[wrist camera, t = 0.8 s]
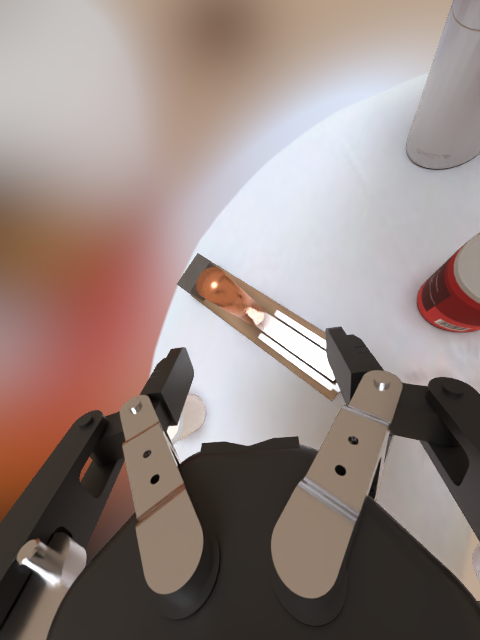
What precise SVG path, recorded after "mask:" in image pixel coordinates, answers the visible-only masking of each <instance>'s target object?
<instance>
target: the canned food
mask: <svg viewBox="0 0 480 640" xmlns="http://www.w3.org/2000/svg"><path fill="white" fill-rule="evenodd" d="M417 304H418V308H419V311H420V313H421V314H422V316H423V317H424V318H425V319H426V320H427V321H428V322H430V323H431V324H433V325H435V326H436V327H439V328H442V329H444V330H448V331H454V332H471V331H476V330H480V233H479V234H477V235H476V236H474V237H473V238H472V239H470V240H469V241H468V242H466V243H465V244H464V245H463V246H462V247H461V248H460V249H459V250H458V251H457V252H456V253H455V254H454V255H452V256H451V257H450V258H449V259H448V260H447V261H446V262H445V263H444V264H443V265H442V266H441V267H440V268H439V269H438V270H437V271H436V272H435V273H434V274H433V275H432V276H431V277H430V278H429V279H428V280H427V281H426V282H425V283H424V284H423V285H422V287H421V289H420V290H419V293H418V297H417Z"/></svg>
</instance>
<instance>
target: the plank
mask: <svg viewBox="0 0 480 640" xmlns="http://www.w3.org/2000/svg"><path fill="white" fill-rule="evenodd" d="M213 264H214V263H213ZM214 265H215V266H216V267H218V268H219V269H221V270H222V271H223V272H224V273H225V274H226V275H227V276H228V277H229V278H230V279H232V280H233V281H234V282H235V283H236V284H237V285H238V286H239V287H240V288H241V289H242V290H244V291H245V292H246V293H247V294H248V295H249V296H250V297H251V298H252V299H253V300H254V301H256V302H257V303H258V304H259V305H260V306H261V307H262V308H263V310H264V311H265V312H266V313H268V314H269V315H271V316H272V317H274V318H275V319H277V320H278V321H280V320H279V319H278V318H277V317H276V316H275V315H274V314H275V312H276V311H277V310H278V311H280V312H281V313H283V314H284V315H286V316H287V317H289V318H291V319H292V320H294V321H295V322H297V323H298V324H300V325H302V326H303V327H305V328H306V329H308V330H309V331H311V332H313V333H314V334H316V335H317V336H319V337H320V338H322V339H323V340H325V341H326V333H325V332H323V331H322V330H320V329H318V328H317V327H315V326H314V325H312V324H310V323H309V322H307V321H306V320H304V319H302V318H301V317H299V316H298V315H296V314H294V313H293V312H291V311H289V310H288V309H286V308H285V307H283V306H281V305H280V304H278V303H277V302H275V301H273V300H272V299H270V298H269V297H267V296H265V295H264V294H262V293H261V292H259V291H257V290H256V289H254V288H253V287H251V286H249V285H248V284H246V283H245V282H243V281H241V280H240V279H238V278H237V277H235V276H233V275H232V274H230V273H229V272H227V271H225V270H224V269H222V268H221V267H219V266H217V265H216V264H214ZM191 296H193V295H191ZM193 297H194V298H195V299H197V300H198V301H199V302H201V303H202V304H203V305H205V306H206V307H207V308H208V309H210V310H211V311H212V312H214V313H215V314H216V315H218V316H219V317H220V318H222V319H223V320H224V321H226V322H227V323H228V324H230V325H231V326H232V327H234V328H235V329H236V330H238V331H239V332H240V333H242V334H243V335H244V336H246V337H247V338H248V339H250V340H251V341H252V342H254V343H255V344H256V345H258V346H259V347H260V348H262V349H263V350H264V351H266V352H267V353H268V354H270V355H271V356H272V357H274V358H275V359H276V360H278V361H279V362H280V363H282V364H283V365H284V366H286V367H287V368H288V369H290V370H291V371H292V372H294V373H295V374H296V375H298V376H299V377H300V378H302V379H303V380H304V381H306V382H307V383H308V384H310V385H311V386H312V387H314V388H315V389H316V390H318V391H319V392H320V393H322V394H323V395H324V396H326V397H327V398H328V399H330V400H331V401H332V400H333V399H334V397H335V396H336V395H337V393H338V392H337V391H336V390H335V389H332V390H331V391H330V390H329V389H327V388H326V387H325V386H323V385H322V384H321V383H319V382H318V381H317V380H315V379H314V378H312V377H311V376H310V375H308V374H307V373H306V372H304V371H303V370H302V369H300V368H299V367H297V366H296V365H295V364H293V363H292V362H291V361H289V360H288V359H287V358H285V357H284V356H282V355H281V354H280V353H278V352H277V351H276V350H274V349H273V348H272V347H270V346H269V345H267V344H266V343H265V342H263V341H262V340H261V339H259V338H258V337H259V335H260V334H261V333H263V334H264V335H266V336H268V337H269V338H271V339H272V340H273V341H275V342H276V343H278V344H279V345H280V346H282V347H283V348H285V349H286V350H288V351H289V352H290V353H292V354H293V355H295V356H296V357H297V358H299V359H300V360H302V361H303V362H304V363H306V364H307V365H309V366H310V367H311V368H313V369H314V370H316V371H317V372H318V373H320V374H321V375H323V376H324V377H325V378H327V379H328V380H330V381H331V382H332V383H334V384H335V383H336V379H334V381H332V380H331V379H330V378H328V377H327V376H325V375H324V374H323V373H321V372H320V371H318V370H317V369H316V368H314V367H313V366H311V365H310V364H308V363H307V362H306V361H304V360H303V359H301V358H300V357H299V356H297V355H296V354H294V353H293V352H292V351H290V350H289V349H287V348H286V347H285V346H283V345H282V344H280V343H279V342H277V341H276V340H275V339H273V338H272V337H270V336H269V335H268V334H266V333H265V332H263V331H262V330H261V329H259V328H258V327H256V326H255V325H250V324H248V323H247V322H245V321H243V320H241V319H240V318H238V317H236V316H235V315H233V314H231V313H229V312H228V311H226V310H224V309H222V308H221V307H219V306H217V305H216V304H214V303H212V302H210V301H209V300H207V299H205V300H204V301H202V300H200V299H199V298H197V297H195V296H193ZM280 322H281V323H283V322H282V321H280ZM283 324H284V325H286V324H285V323H283ZM286 326H287V327H289V326H288V325H286ZM289 328H290V329H292V328H291V327H289ZM292 330H293V331H295V330H294V329H292ZM295 332H296V333H298V332H297V331H295ZM298 334H299V335H301V334H300V333H298ZM301 336H302V337H304V336H303V335H301ZM304 338H305V339H307V338H306V337H304ZM307 340H308V341H310V340H309V339H307ZM310 342H312V341H310ZM312 343H313V342H312ZM313 344H315V343H313ZM315 345H316V346H318V345H317V344H315ZM318 347H319V348H321V347H320V346H318ZM321 349H322V350H324V349H323V348H321ZM324 351H325V352H326V350H324Z"/></svg>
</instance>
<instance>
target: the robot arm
mask: <svg viewBox="0 0 480 640" xmlns="http://www.w3.org/2000/svg"><path fill="white" fill-rule="evenodd" d="M406 150H407V154H408V156H409V158H410V159H411V160H412V161H413V162H415V163H416V164H418V165H420V166H423V167H425V168H432V169H444V168H450V167H454V166H457V165H460V164H463V163H465V162H467V161H469V160H471V159H472V158H473V157H475V156H476V155H478V154H479V153H480V0H453V2H452V5H451V9H450V11H449V14H448V17H447V21H446V24H445V27H444V30H443V33H442V36H441V39H440V42H439V45H438V48H437V51H436V54H435V57H434V60H433V63H432V66H431V70H430V73H429V76H428V79H427V82H426V85H425V88H424V91H423V94H422V97H421V100H420V103H419V106H418V109H417V112H416V115H415V118H414V121H413V124H412V127H411V130H410V133H409V137H408V140H407V144H406ZM326 355H327V360H328V363H329V366H330V368H331V370H332V372H333V375H334V377H335V379H336V382H337V384H338V386H339V389H340V391H341V393H342V396H343V398H344V400H345V402H346V405H347V406H346V405H344V406H343V407H342V408H341V410H340V412H339V414H338V416H337V418H336V420H335V421H334V423H333V425H332V427H331V429H330V431H329V433H328V435H327V437H326V439H325V440H324V442H323V444H322V446H321V448H320V450H319V451H317V450H315V449H313V448H310V447H307V446H304V445H299V439H298V437H283V438H272V439H269V440H266V441H263V442H260V443H257V444H254V445H251V446H244V445H239V444H234V443H229V442H212V443H202V447H201V451H200V452H198V453H196V454H194V455H192V456H190V457H188V458H187V459H185V460H184V461H183V462H182V463H181V462H180V459H179V457H178V455H177V453H176V450H175V448H174V446H173V444H172V441H171V439H170V437H169V435H168V433H167V430H168V427H169V426H177V425H178V422H179V419H180V416H181V413H182V410H183V407H184V404H185V401H186V398H187V395H188V392H189V389H190V386H191V383H192V380H193V377H194V370H193V366H192V364H191V361H190V358H189V356H188V353H187V350H186V348H184V347H182V348H175V349H171V350H170V352H169V354H168V356H167V357H166V358H164V359H163V360H161V361H160V362H159V363H158V364H157V366H156V367H155V369H154V372H153V373H152V374H151V376H150V378H149V380H148V381H147V383H146V385H145V387H144V388H143V390H142V392H141V394H140V395H139V396H136V397H133V398H131V399H130V400H128V401H127V402H126V403H125V404H124V405H123V406H122V408H121V410H120V412H117V413H115V414H111V415H109V416H106V417H105V416H104V415H103V413H102V412H101V411H99V410H95V411H91V412H88V413H86V414H85V415H83V416H81V417H80V418H79V419H78V420H76V422H75V423H74V424H73V425H72V426H71V428H70V429H69V430H68V432H67V433H66V434H65V436H64V438H63V439H62V440H61V441H60V443H59V444H58V445H57V447H56V448H55V450H54V451H53V452H52V454H51V455H50V456H49V458H48V459H47V460H46V462H45V463H44V465H43V466H42V467H41V469H40V470H39V471H38V473H37V474H36V475H35V477H34V478H33V479H32V481H31V482H30V484H29V485H28V486H27V488H26V489H25V490H24V492H23V493H22V494H21V496H20V497H19V499H18V500H17V501H16V503H15V504H14V505H13V507H12V508H11V509H10V511H9V512H8V513H7V515H6V516H5V517H4V519H3V520H2V522H1V523H0V640H480V601H476V599H475V598H474V597H473V595H472V594H471V593H470V592H469V591H468V589H467V588H466V587H465V586H464V585H463V584H462V583H461V581H460V580H459V579H458V578H457V577H456V576H455V575H454V574H453V573H452V572H451V571H450V570H448V569H447V568H446V567H445V566H444V565H443V564H442V563H441V562H440V561H439V560H438V559H437V558H436V557H434V556H433V555H432V554H431V553H430V552H429V551H428V550H427V549H426V548H425V547H424V546H423V545H422V544H421V543H419V542H418V541H417V540H416V539H415V538H414V537H413V536H412V535H411V534H410V533H409V532H408V531H407V530H406V529H405V528H403V527H402V526H401V525H400V524H399V523H398V522H397V521H396V520H395V519H394V518H393V517H392V516H391V515H390V514H388V513H387V512H386V511H385V510H384V509H383V508H382V507H381V506H380V505H379V504H378V503H377V502H376V497H377V494H378V490H379V487H380V483H381V478H382V474H383V470H384V467H385V463H386V460H387V457H388V453H389V450H390V447H391V443H392V440H393V437H394V435H397V436H402V437H406V438H411V439H416V440H420V442H421V444H422V445H423V447H424V449H425V450H426V452H427V454H428V455H429V457H430V459H431V460H432V462H433V464H434V466H435V467H436V469H437V471H438V472H439V474H440V476H441V477H442V479H443V481H444V482H445V484H446V486H447V487H448V489H449V491H450V492H451V494H452V496H453V498H454V499H455V501H456V503H457V504H458V506H459V508H460V509H461V511H462V513H463V514H464V516H465V518H466V519H467V521H468V523H469V524H470V526H471V528H472V529H473V531H474V533H475V534H476V536H477V538H478V539H479V541H480V394H479V393H478V392H477V391H476V390H475V389H474V388H473V387H471V386H470V385H468V384H466V383H464V382H462V381H459V380H457V379H453V378H447V377H439V378H434V379H432V380H431V381H430V382H429V384H428V386H420V385H412V384H406V383H402V382H401V380H400V379H399V378H398V377H397V376H395V375H393V374H391V373H389V372H386V371H384V370H383V369H382V367H381V366H380V364H379V363H378V362H377V360H376V359H375V358H374V356H373V355H372V353H371V352H370V351H369V349H368V348H367V347H366V345H365V344H364V343H363V341H362V340H361V339H360V338H358V337H356V336H355V335H346V333H345V332H344V330H343V329H342V327H334V328H327V329H326ZM89 456H90V458H91V459H92V460H93V461H92V462H91V464H90V466H89V468H88V470H87V471H86V473H85V475H84V477H83V479H82V480H81V482H80V480H79V477H80V473H81V470H82V468H83V466H84V465H85V463H86V461H87V460H88V458H89ZM124 460H125V462H126V467H127V472H128V477H129V481H130V486H131V492H132V497H133V502H134V507H135V513H134V514H133V515H132V516H131V518H130V519H129V520H128V521H127V522H126V523H125V524H124V525H123V526H122V528H121V529H120V530H119V531H118V532H117V533H116V534H115V535H114V536H113V537H112V538H111V540H110V541H109V542H108V543H107V544H106V545H105V546H104V547H103V548H102V549H101V550H100V552H99V553H98V554H97V555H96V556H95V557H94V558H93V559H92V560H91V561H90V563H89V564H88V565H87V566H86V567H85V564H86V552H85V550H86V547H87V545H88V543H89V541H90V538H91V536H92V534H93V531H94V529H95V527H96V525H97V522H98V520H99V518H100V516H101V513H102V511H103V509H104V506H105V504H106V502H107V499H108V497H109V495H110V492H111V490H112V488H113V486H114V484H115V481H116V479H117V476H118V474H119V472H120V470H121V468H122V465H123V463H124ZM472 560H473V566H474V570H475V572H476V574H477V577H478V579H479V582H480V542H479V544H478V545H477V547H476V548H475V550H474V552H473V556H472ZM84 567H85V568H84Z"/></svg>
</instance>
